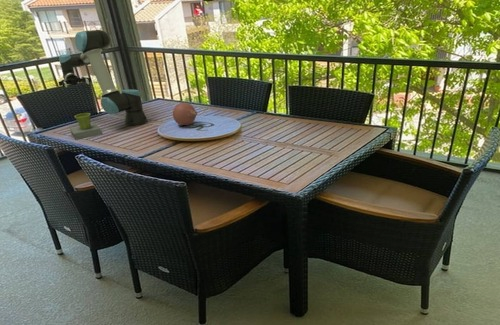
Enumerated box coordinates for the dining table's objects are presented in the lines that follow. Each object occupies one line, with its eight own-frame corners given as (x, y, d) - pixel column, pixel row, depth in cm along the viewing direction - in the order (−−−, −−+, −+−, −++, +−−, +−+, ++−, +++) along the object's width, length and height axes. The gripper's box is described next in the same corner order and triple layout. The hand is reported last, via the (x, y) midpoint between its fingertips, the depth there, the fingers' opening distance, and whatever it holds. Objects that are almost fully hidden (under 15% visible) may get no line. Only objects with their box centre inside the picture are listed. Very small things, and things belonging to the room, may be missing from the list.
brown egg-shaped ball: (187, 131, 225) (185, 108, 218) (169, 126, 237) (166, 103, 231) (206, 125, 235) (204, 103, 228) (187, 120, 247) (185, 98, 241)
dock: (96, 128, 238) (95, 123, 236) (101, 134, 227) (100, 128, 226) (71, 134, 230) (69, 128, 229) (75, 139, 220) (73, 133, 218)
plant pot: (87, 130, 223) (84, 117, 219) (74, 130, 225) (71, 117, 221) (96, 125, 231) (93, 113, 227) (83, 125, 233) (80, 112, 229)
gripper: (91, 81, 254) (98, 86, 238) (53, 87, 242) (58, 92, 226) (89, 71, 251) (95, 75, 235) (50, 76, 239) (55, 80, 223)
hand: (77, 83), depth 230 cm, fingers open, 13 cm apart
